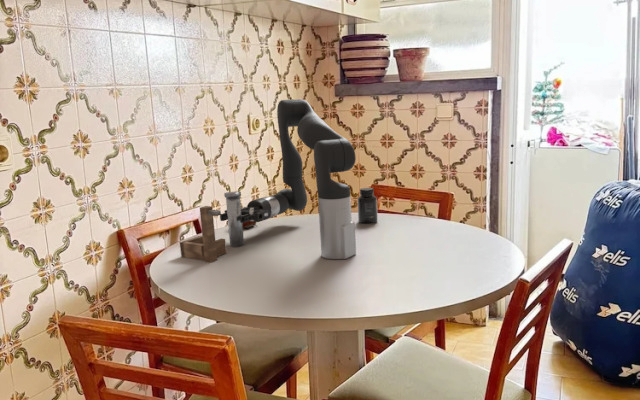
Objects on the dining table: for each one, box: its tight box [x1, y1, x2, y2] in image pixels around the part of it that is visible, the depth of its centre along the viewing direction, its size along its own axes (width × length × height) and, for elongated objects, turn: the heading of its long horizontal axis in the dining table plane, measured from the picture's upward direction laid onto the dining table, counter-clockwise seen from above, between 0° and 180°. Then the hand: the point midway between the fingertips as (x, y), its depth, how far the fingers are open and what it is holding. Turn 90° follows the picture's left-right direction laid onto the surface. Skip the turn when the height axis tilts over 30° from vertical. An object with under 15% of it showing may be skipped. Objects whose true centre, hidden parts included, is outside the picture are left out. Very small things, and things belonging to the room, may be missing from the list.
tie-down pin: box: [223, 190, 245, 248], centre depth 178 cm, size 5×5×17 cm
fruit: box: [242, 221, 258, 229], centre depth 204 cm, size 8×8×8 cm
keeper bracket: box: [179, 205, 227, 263], centre depth 167 cm, size 16×9×16 cm, turn 56°
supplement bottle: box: [357, 187, 379, 225], centre depth 200 cm, size 7×7×12 cm
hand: (230, 218), depth 177 cm, fingers open, 8 cm apart
